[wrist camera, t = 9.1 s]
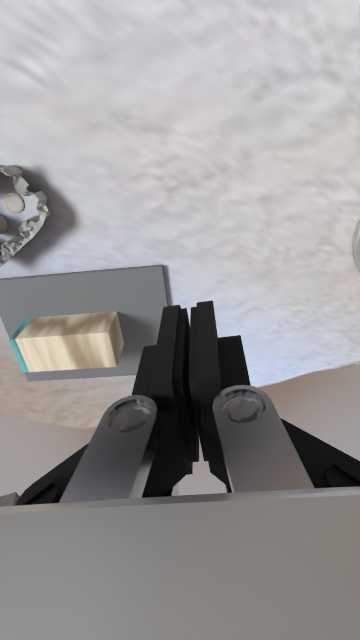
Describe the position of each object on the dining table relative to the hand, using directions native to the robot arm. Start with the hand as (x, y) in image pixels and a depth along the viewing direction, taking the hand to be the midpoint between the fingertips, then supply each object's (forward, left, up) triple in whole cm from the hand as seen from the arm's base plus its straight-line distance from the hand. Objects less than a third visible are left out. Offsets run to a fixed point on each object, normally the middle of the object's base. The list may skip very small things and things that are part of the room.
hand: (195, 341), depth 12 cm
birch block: (+11, +16, -25) cm, 31 cm away
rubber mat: (+16, +16, -28) cm, 36 cm away
